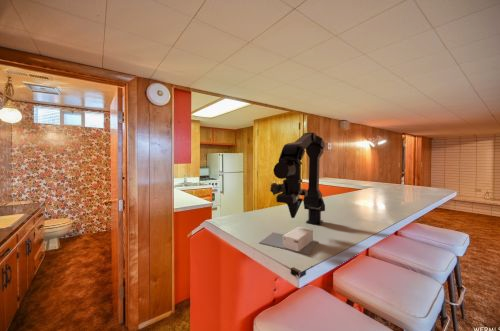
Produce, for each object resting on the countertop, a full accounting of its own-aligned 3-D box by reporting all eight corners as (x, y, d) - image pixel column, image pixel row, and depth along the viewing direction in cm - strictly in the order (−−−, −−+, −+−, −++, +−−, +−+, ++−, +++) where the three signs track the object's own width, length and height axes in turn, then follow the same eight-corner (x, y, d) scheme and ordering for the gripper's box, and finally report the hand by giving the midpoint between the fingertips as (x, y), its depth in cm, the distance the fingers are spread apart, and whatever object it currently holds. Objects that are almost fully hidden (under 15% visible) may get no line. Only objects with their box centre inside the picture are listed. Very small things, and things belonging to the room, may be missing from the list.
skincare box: (298, 236, 80) (281, 248, 70) (298, 225, 79) (281, 235, 70) (314, 240, 76) (298, 253, 66) (313, 228, 75) (298, 239, 66)
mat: (273, 233, 85) (273, 232, 85) (318, 241, 75) (318, 241, 75) (259, 243, 74) (259, 242, 74) (309, 254, 65) (309, 254, 65)
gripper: (282, 174, 90) (282, 210, 91) (262, 177, 74) (262, 220, 75) (307, 175, 85) (307, 213, 85) (292, 179, 69) (292, 225, 69)
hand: (292, 217), depth 79 cm, fingers closed
